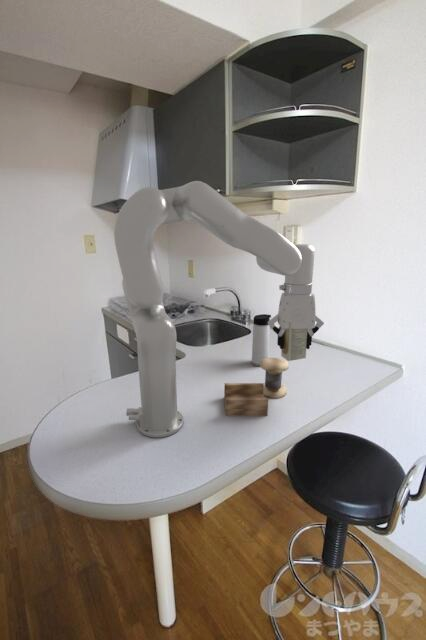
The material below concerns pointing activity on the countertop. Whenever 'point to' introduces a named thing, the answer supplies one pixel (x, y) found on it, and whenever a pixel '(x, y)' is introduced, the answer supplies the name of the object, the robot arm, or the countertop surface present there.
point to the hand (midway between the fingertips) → (293, 347)
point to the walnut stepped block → (245, 399)
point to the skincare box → (294, 343)
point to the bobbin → (274, 377)
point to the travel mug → (260, 338)
